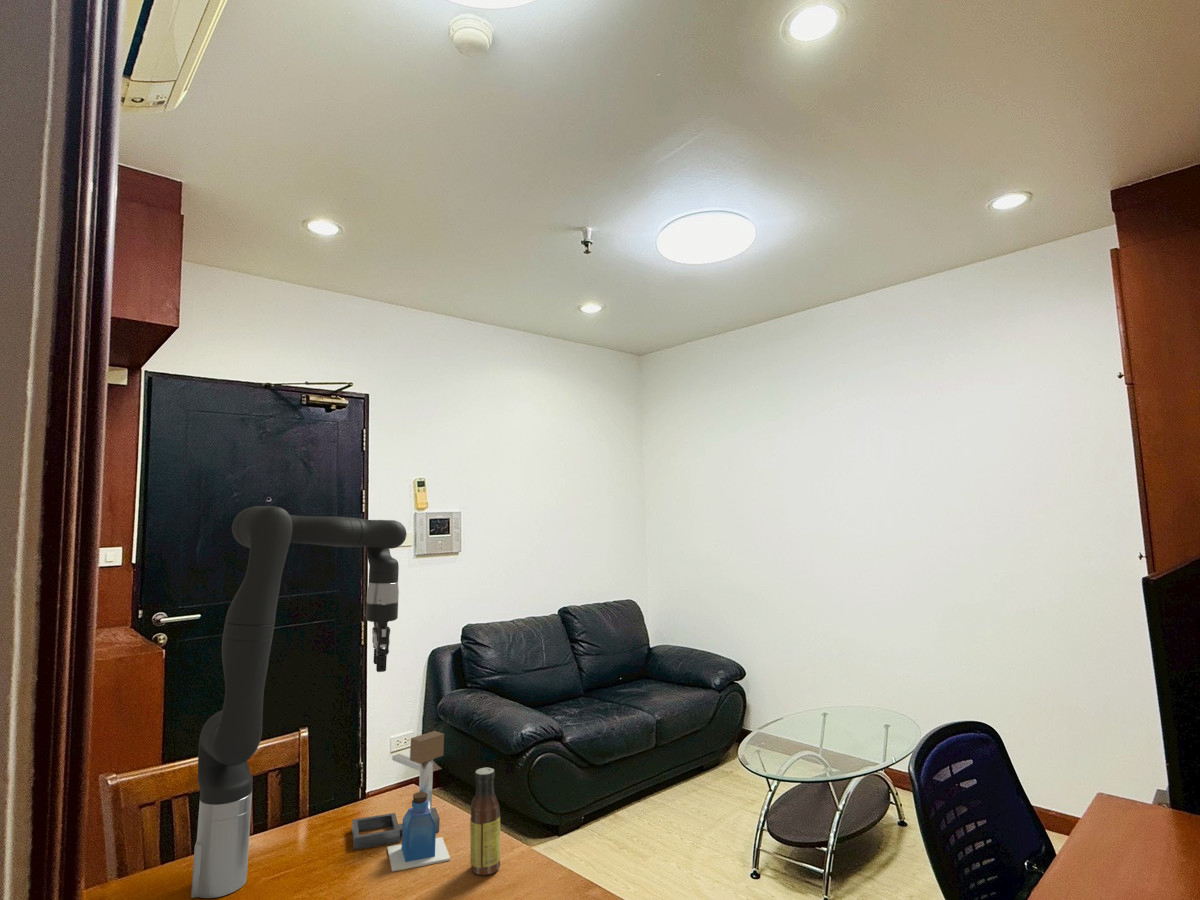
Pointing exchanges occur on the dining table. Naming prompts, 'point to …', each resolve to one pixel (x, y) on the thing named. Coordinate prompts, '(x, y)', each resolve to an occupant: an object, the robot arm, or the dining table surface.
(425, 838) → the perfume bottle
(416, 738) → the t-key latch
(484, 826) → the sauce bottle
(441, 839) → the pad
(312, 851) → the dining table surface
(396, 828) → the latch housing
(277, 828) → the dining table surface
